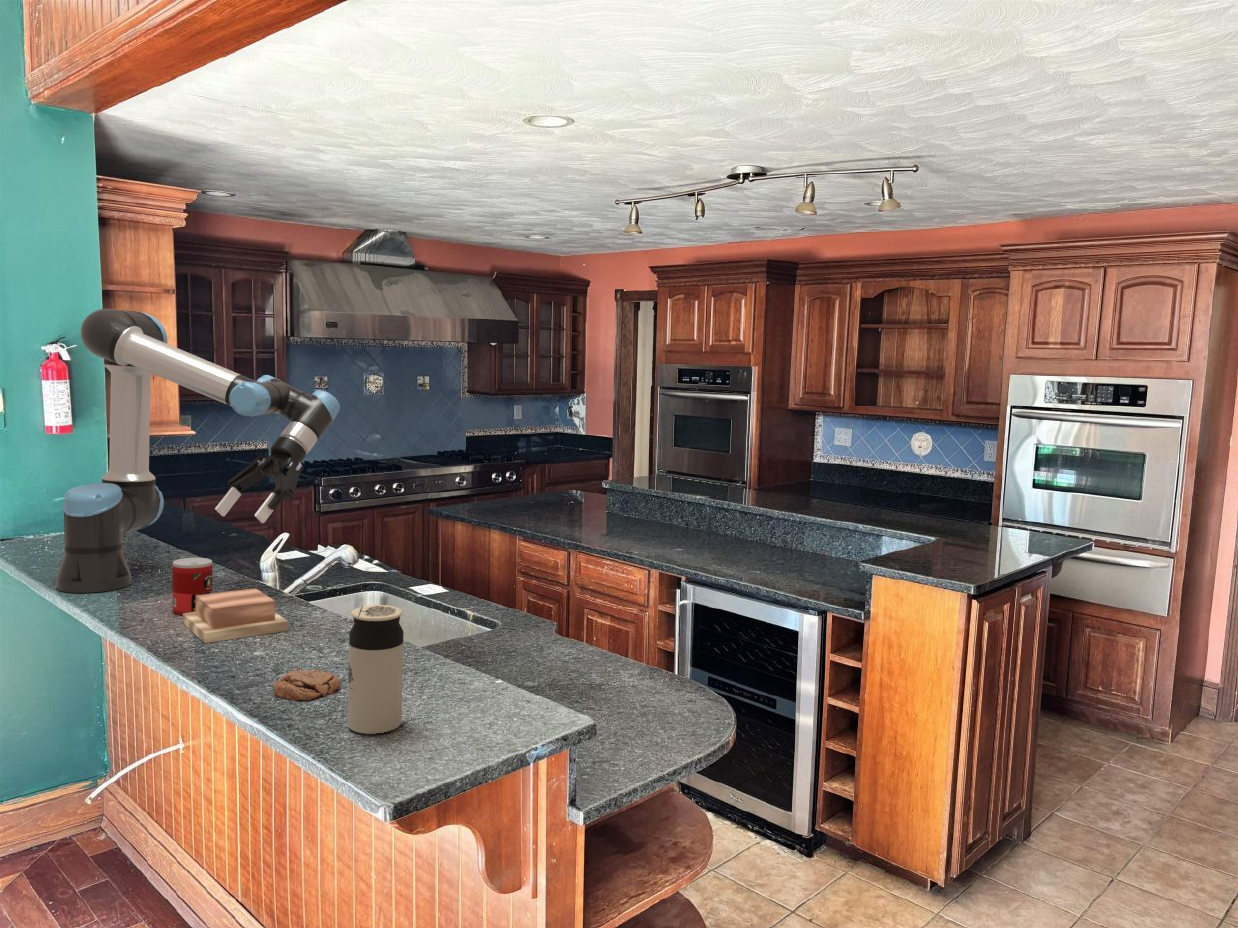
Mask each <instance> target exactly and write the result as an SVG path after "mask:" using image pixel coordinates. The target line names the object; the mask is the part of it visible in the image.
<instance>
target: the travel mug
mask: <svg viewBox="0 0 1238 928" xmlns="http://www.w3.org/2000/svg"><path fill="white" fill-rule="evenodd" d="M350 613H351V614H350V615H351V616H352V618H353V625H352V627H351V629H350V631H349V636H348V641H349V642H348V644H349V645H348V685H347V686H348V693H347V695H348V697H347V727H348V728H349V729H350V730H351V731H353V732H356V733H358V734H362V733H363V734H364V735H377V734H376V733H382V734H385V733H384V732H386V733H389V732H392V731H393V730H396V729H397V728H399V727H400V726H401V725H402V718H403V717H402V716H403V713H402V712H403V711H402V709H403V677H404V676H403V675H404V674H403V672H404V671H403V670H404V669H403V667H404V665H403V664H404V661H403V660H404V633H405V632H404V629H403V627H402V625H401V623H400V620H401V616H402V615H403V610H402V609H401V608H399V607H397V606H392V605H387V604H386V605H385V604H375V605H374V604H373V605H371V604H370V605H363V606H359V607H357V608H354V609H353V610H352V611H351V612H350ZM391 730H392V731H391ZM388 731H389V732H388Z"/></svg>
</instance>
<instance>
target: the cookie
mask: <svg viewBox="0 0 1238 928" xmlns="http://www.w3.org/2000/svg"><path fill="white" fill-rule="evenodd" d="M340 683H341V681H340V678H338V676H337V675H336V674H334V673H332V672H329V671H327V670H326V671H322V670H320V669H313V670H311V669H310V670H292V671H289V672H287V673H286V674H284V675H282V676H281V678H280V679H279V680H277V681H276V682H274V683H273V690H274V695H275V696H276V695H277V696H278V698H279V697H282V698H281V699H284V698H288V699H294V700H293V701H297V700H307V701H311V700H310V699H312V700H315V699H317V697H319V698H321V697H322V696H323V697H322V698H325V697H327V696H332V695H333V694H335V692H337V691H338V689H339V690H340V685H341V684H340ZM336 690H337V691H336ZM277 696H276V697H277ZM288 699H287V700H288Z"/></svg>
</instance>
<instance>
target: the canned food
mask: <svg viewBox="0 0 1238 928" xmlns="http://www.w3.org/2000/svg"><path fill="white" fill-rule="evenodd" d="M171 566H172V568H171V569H172V570H171V573H172V574H171V576H172V577H171V578H172V584H171V585H172V611H173V613H174V614H175V615H178V616H183V613H190V612H196V595H203V594H212V593H213V560H212V559H210V558H205V557H185V558H184V557H183V558H179V559H175V560H173V561H172V565H171Z"/></svg>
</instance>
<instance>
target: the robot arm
mask: <svg viewBox="0 0 1238 928" xmlns="http://www.w3.org/2000/svg"><path fill="white" fill-rule="evenodd" d="M80 338H81V341H82V343H83V345H84V347H85V348H86V349H87V350H88V351H89V352H90V353H91V354H93V355H95V356H96V357H99V358H101V359H103V366H104V367H105V368H106V370H108V371H109V372H110V401H109V402H110V404H109V406H110V409H109V411H110V412H109V413H110V414H109V415H110V416H109V419H110V420H109V461H108V462H109V468H108V469H109V470H108V471H107V472H105V474H104V475H102V476H101V482H94V483H90V484H82V485H81V484H80V485H78V486H74V487H72V488H70V489H68V490H67V491H66V492H65V494H64V497H63V499H64V500H63V505H62V506H63V507H62V510H63V529H64V530H63V531H64V532H63V533H64V534H63V535H64V537H63V539H64V541H63V542H64V555H63V558H62V562H61V564H60V567H59V570H58V572H57V576H56V579H55V581H56V583H55V585H56V586H55V587H56V588H55V589H57V590H58V591H60V592H65V593H74V594H75V593H76V594H79V593H80V594H81V593H82V594H83V593H84V594H86V593H89V594H91V593H101V592H102V593H103V592H110V591H113V590H114V591H115V590H119V589H123V588H126V587H128V586H130V585H131V584H132V574H131V571H130V568H129V566H128V563H127V561H126V557H125V555H124V553H123V534H127V533H130V532H133V531H134V532H135V531H139V530H143V529H145V528H146V527H149V526H150V525H152V524H154V523H155V522H156V521H157V520H158V519H159V517H160V516H161V514H162V513H163V510H164V505H165V504H164V503H165V501H164V496H163V493H162V491H160V490H159V487H158V486H157V485H156V476H155V475H154V474H153V473H152V472H150V469H149V468H150V467H149V466H150V432H151V431H150V426H151V424H150V423H151V421H150V420H151V384H152V383H151V379H152V378H151V377H152V374H153V375H155V376H158V377H160V378H162V379H165V380H167V381H170V382H172V383H174V384H177V385H179V386H181V387H184V388H186V389H188V390H191V391H193V392H195V393H196V392H197V393H198V394H201V395H204V396H206V397H208V398H210V399H213V400H215V401H218V402H220V403H223V404H224V405H227V406H230V407H231V408H232V409H233V410H234V411H235V412H236V414H239V415H241V416H245V417H257V416H264V415H270V414H276V415H279V416H281V417H283V418H284V419H287V420H288V421H290V422H289V423H288V425H287V426H286V427H285V428H284V429H283V431H282V432H281V433H280V436H279V437H277V439H276V440H275V442H273V444H272V445H271V447H270V448H269V449H270V455H269V456H268V457H267V458H264V457H263V456H262V455H258V456H257V457H256V458H255V459H254V460H253V461H252V462H251V463H250V464H249V465H247V466H246V467H245V468H243V469H242V470H240V471H239V472H238V473H237V474H236V475H234V476H233V477H231V478H230V479H229V480H228V481H227V482H226V483H227V485H228V486H229V487H230V488H229V490H227V492H226V493H225V494H224V496H223V497H222V499H221V500H220V501H219V503H218V504H217V506H215V508H214V510H215V511H216V512H217V513H219V515H220V516H221V517H225V516H226V515H227V514H228V513H229V511H230V510H231V508H233V506H234V504H236V502H237V501H238V500H239V498H240V497H241V496H242V492H244V490H245V491H246V490H247V489H249V488H250V487H251V486H253V485H255V484H257V483H259V482H260V481H262V480H267V479H270V478H273V479H275V482H274V483H275V487H274V489H273V492H271V493H270V494H269V495H268V497H267V498H266V499H265V501H264V502H263V503H262V504H261V506H260V507H259V509H258V510H257V511H256V512H255V514H254V517H255V518H256V519H257V520H258V521H259V522H260V523H261V524H264V523H266V521H267V519H269V517H270V516H271V515H272V513H273V512H274V511H275V510H276V509H277V508H278V506H279V505H280V504H281V502H282V501H284V500H286V499H289V500H290V499H293V498H294V496H295V492H296V487H297V484H298V481H299V477H300V475H301V473H302V471H303V469H304V466H303V464H302V463H303V461H304V460H305V458H306V457H307V454H309V453H310V452H311V450H312V448H313V447H314V446H315V444H316V443H317V441H318V440H319V439H320V438H321V437H322V435H323V434H324V433H325V431H326V430H328V428H329V426H331V424H332V423H333V422H334V420H335V418H336V417H337V415H338V413H339V411H340V410H341V409H340V408H341V405H340V403H339V401H338V399H337V398H336V397H335V396H334V395H333V394H331V393H330V392H328V391H325V390H322V389H317V390H315V391H314V392H313V393H312V394H308V393H307V392H303V391H301V390H300V389H297V388H296V387H294V386H292V385H290V384H288V383H286V382H284V381H283V380H281V379H280V378H276V377H274V376H271V375H269V374H265V375H262V376H261V377H259V378H258V379H257V380H255V379H252V378H249V377H247V376H244V375H242V374H240V373H237V372H235V371H233V370H230V369H229V368H225V367H224V366H221V365H218V364H216V363H213V362H211V361H208V360H206V359H205V358H202V357H199V356H198V355H194V354H193V353H190V352H187V351H185V350H183V349H180V348H178V347H175V346H173V345H171V344H168V334H167V331H166V329H165V327H164V325H163V324H162V322H160V321H159V320H158V318H156V317H155V316H153V315H151V314H148V313H145V312H143V311H136V310H124V309H116V308H101V309H100V308H99V309H98V310H97V309H96V310H95V311H93V312H91V313H90V314H88V315H87V316H86V317H85V318H84V320H83V321H82V323H81V327H80Z"/></svg>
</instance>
